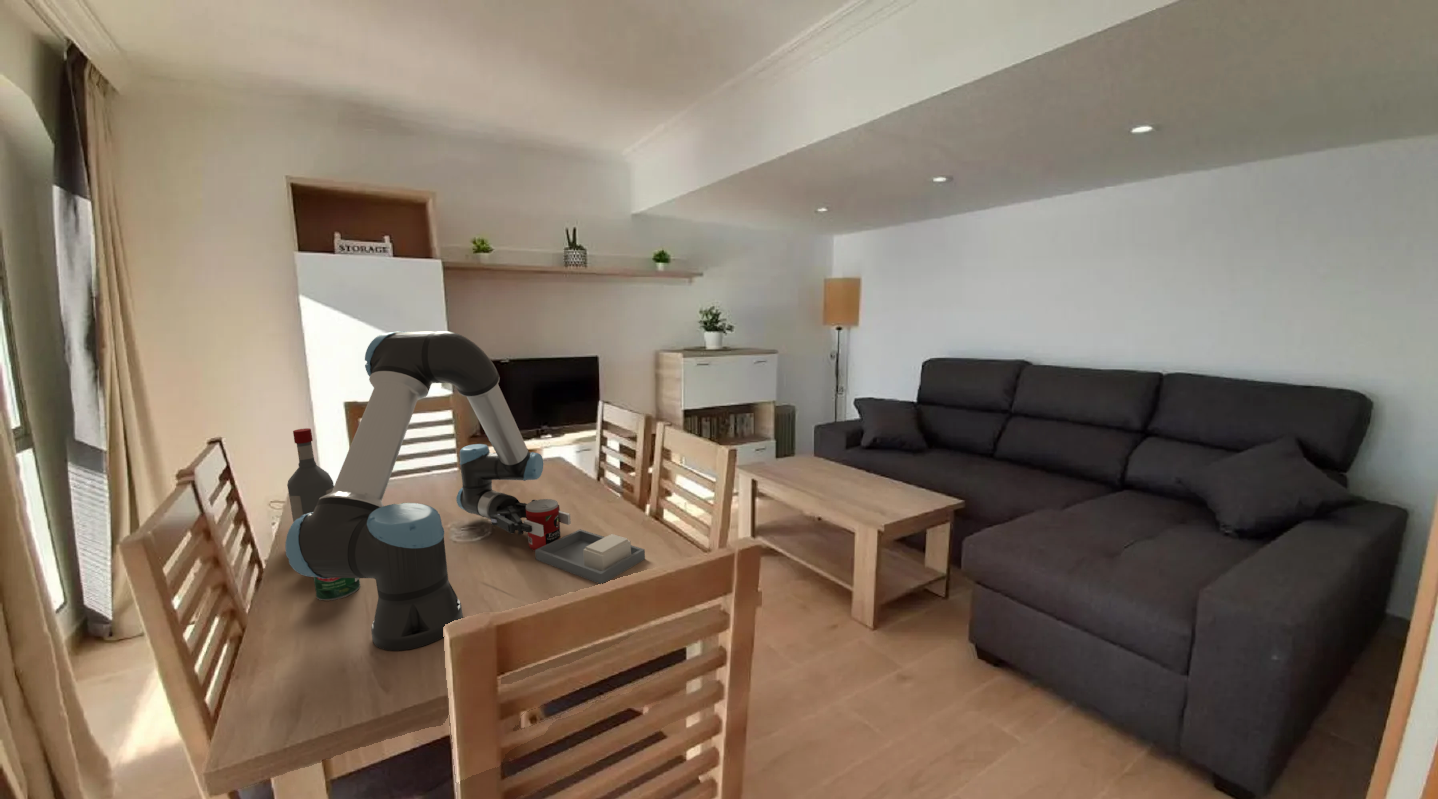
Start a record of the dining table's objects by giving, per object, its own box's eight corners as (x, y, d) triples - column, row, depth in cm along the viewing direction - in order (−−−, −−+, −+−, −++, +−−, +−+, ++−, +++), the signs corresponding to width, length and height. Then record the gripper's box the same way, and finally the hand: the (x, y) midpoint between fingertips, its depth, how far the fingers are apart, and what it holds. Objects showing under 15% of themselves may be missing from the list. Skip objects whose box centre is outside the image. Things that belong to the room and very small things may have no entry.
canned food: (552, 553, 134) (548, 510, 132) (522, 550, 136) (518, 508, 134) (566, 540, 142) (563, 499, 140) (538, 537, 143) (535, 497, 141)
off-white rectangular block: (631, 560, 128) (630, 538, 127) (603, 577, 121) (602, 553, 120) (612, 554, 132) (611, 532, 131) (584, 570, 124) (583, 547, 123)
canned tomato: (324, 605, 113) (316, 555, 111) (310, 593, 117) (302, 545, 115) (366, 588, 119) (359, 541, 117) (352, 578, 124) (345, 532, 122)
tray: (645, 561, 129) (644, 549, 129) (601, 586, 118) (600, 574, 117) (580, 540, 141) (580, 529, 141) (536, 561, 130) (535, 549, 129)
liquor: (299, 552, 137) (280, 436, 132) (296, 540, 144) (277, 430, 139) (342, 541, 143) (326, 430, 138) (337, 531, 150) (321, 424, 145)
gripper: (532, 508, 157) (588, 525, 144) (465, 533, 140) (521, 555, 127) (530, 483, 155) (586, 498, 143) (462, 505, 138) (519, 524, 126)
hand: (556, 525), depth 135 cm, fingers closed on canned food, 8 cm apart
